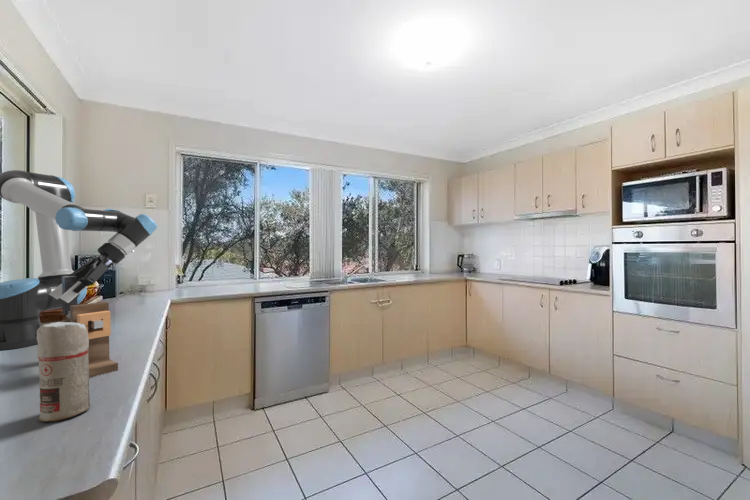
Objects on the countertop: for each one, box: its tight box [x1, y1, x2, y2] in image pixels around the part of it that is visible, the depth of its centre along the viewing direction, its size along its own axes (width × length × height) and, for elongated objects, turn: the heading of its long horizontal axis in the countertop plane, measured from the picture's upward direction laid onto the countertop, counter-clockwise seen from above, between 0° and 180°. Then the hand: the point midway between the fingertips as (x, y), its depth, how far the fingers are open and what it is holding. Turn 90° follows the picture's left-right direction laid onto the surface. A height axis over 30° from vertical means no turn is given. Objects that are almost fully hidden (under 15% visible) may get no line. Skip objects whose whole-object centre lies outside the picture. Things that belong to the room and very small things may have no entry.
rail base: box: [61, 301, 119, 379], centre depth 101 cm, size 30×8×19 cm, turn 56°
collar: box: [77, 310, 112, 339], centre depth 96 cm, size 2×7×7 cm, turn 146°
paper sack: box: [37, 321, 91, 422], centre depth 72 cm, size 8×8×20 cm
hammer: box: [61, 276, 103, 329], centre depth 101 cm, size 28×3×13 cm, turn 56°
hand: (58, 298), depth 106 cm, fingers open, 11 cm apart
